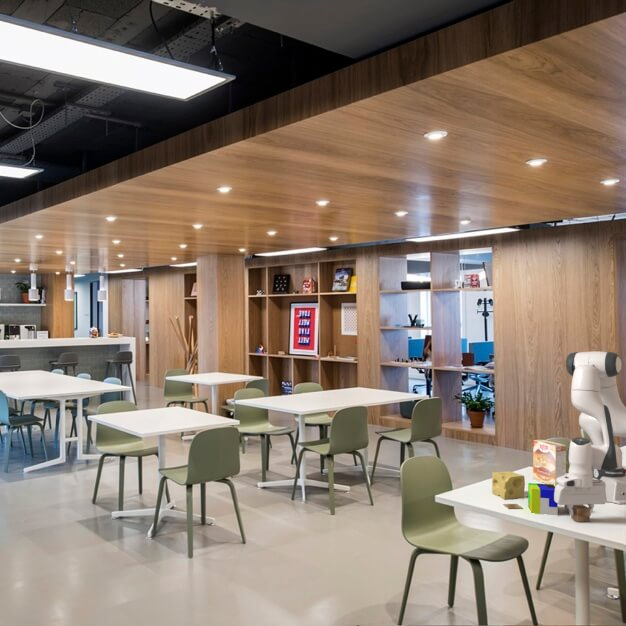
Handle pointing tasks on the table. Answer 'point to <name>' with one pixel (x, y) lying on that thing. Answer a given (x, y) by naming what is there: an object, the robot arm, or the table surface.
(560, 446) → the coffeecake box
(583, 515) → the walnut block
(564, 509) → the sage block
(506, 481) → the cheese
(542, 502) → the puzzle toy
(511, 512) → the table surface
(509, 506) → the swatch tile
